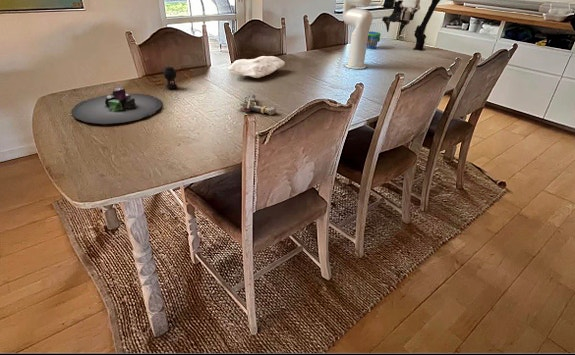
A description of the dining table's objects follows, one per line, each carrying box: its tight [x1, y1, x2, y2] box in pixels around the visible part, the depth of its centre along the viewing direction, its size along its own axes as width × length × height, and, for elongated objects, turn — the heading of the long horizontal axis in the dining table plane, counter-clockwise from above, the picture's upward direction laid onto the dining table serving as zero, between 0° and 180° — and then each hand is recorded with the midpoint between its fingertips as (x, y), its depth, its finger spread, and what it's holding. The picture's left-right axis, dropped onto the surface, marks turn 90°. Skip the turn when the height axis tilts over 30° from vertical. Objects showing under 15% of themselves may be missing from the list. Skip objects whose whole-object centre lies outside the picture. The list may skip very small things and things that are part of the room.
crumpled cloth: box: [227, 55, 286, 79], centre depth 196 cm, size 24×35×9 cm
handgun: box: [239, 93, 277, 116], centre depth 158 cm, size 3×18×15 cm
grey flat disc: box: [70, 86, 163, 125], centre depth 150 cm, size 35×35×9 cm
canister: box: [404, 10, 412, 22], centre depth 231 cm, size 5×5×5 cm
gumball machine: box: [161, 66, 179, 90], centre depth 173 cm, size 7×6×10 cm
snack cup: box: [366, 31, 381, 49], centre depth 259 cm, size 16×10×10 cm
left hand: (407, 19), depth 232 cm, fingers closed on canister, 4 cm apart
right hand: (393, 33), depth 266 cm, fingers open, 9 cm apart
